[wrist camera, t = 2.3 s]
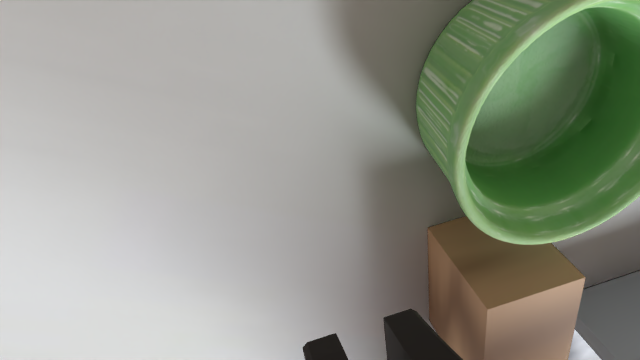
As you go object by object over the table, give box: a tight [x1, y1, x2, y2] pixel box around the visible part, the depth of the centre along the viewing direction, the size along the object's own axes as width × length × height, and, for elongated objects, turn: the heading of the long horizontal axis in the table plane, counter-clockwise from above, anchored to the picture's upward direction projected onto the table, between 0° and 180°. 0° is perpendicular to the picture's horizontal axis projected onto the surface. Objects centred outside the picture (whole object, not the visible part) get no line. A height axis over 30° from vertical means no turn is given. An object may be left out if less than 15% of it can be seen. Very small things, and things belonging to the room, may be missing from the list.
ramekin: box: [416, 0, 640, 245], centre depth 19 cm, size 9×9×4 cm
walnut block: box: [428, 216, 586, 360], centre depth 23 cm, size 6×4×5 cm, turn 8°
